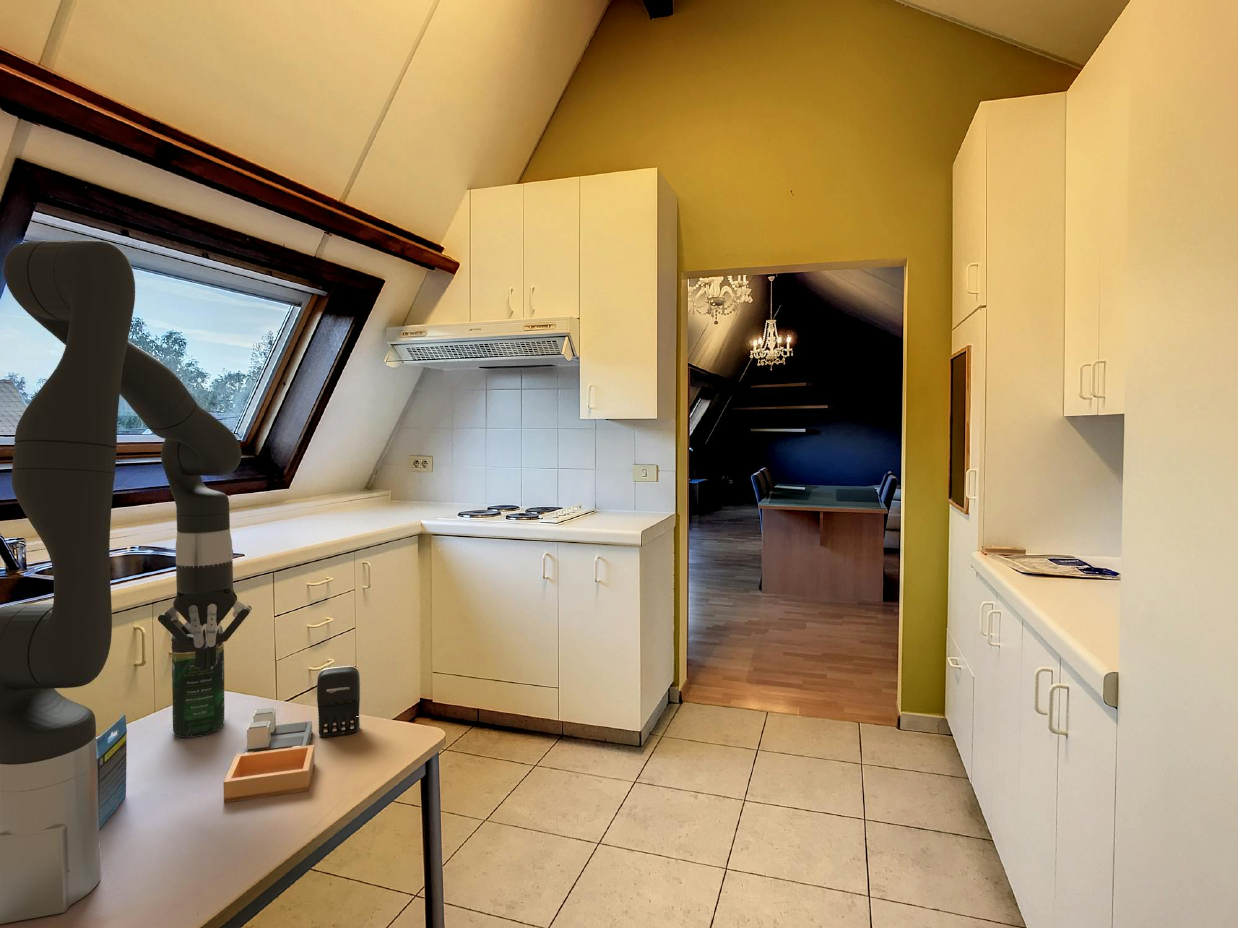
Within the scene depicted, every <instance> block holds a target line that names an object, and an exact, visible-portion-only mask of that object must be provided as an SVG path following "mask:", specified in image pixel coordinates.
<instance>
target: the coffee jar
mask: <svg viewBox="0 0 1238 928" xmlns="http://www.w3.org/2000/svg"><path fill="white" fill-rule="evenodd" d="M183 624H184V625H185V626H186V627H187V628H188V629H189V630H190V631H191V632H192V629H191V624H190V623H188V622H187V621H186V622H185V623H183ZM221 632H223V626H222V625H220V632H219V633H221ZM206 634H207V624H206ZM170 641H171V681H172V682H171V684H172V685H171V686H172V687H171V689H172V693H171V694H172V731H173V734H174V735H175V737H177V738H179V737H180V738H181V737H183V738H184V737H189V738H190V737H191V738H196V737H202V736H205V735H207V734H209V733H211V732H214V731H219V730H220V729H221V728H222V727H223V724H224V722H225V709H226V708H225V707H226V706H225V647H224V646H225V645H224V643H225V642H221V643H219V644H218V659H219V660H218V662H217V664H216V665H215V666H214V667H213V669H212V670H206V671H201V670H200V667H198V668H197V666H196V658H195V647H194V646H192V645H188V644H187V645H183V644H182V643H181V642H179V641H178V640H177V639H176V638H175V637H174V636H173V635H172V634H171V639H170ZM206 644H207V641H206Z"/></svg>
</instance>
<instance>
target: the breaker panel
mask: <svg viewBox="0 0 1238 928" xmlns="http://www.w3.org/2000/svg"><path fill="white" fill-rule="evenodd" d="M312 733H313V721H312V720H309V721H299V722H298V721H297V722H291V723H282V724H281V723H280V724H276V728H275V730H274V732H272V733H271V741H270V744H269V746H268V747H263V748H255V749H247V745H245V748H244V751H243V753H242V754H245V753H253V752H261V751H269V750H277V749H285V748H293V747H301V746H308V745H310V742H311V739H312V735H311V734H312Z"/></svg>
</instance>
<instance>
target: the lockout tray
mask: <svg viewBox="0 0 1238 928" xmlns="http://www.w3.org/2000/svg"><path fill="white" fill-rule="evenodd" d="M314 767H315V744H309V745H308V746H301V747H293V748H285V749H277V750H269V751H261V752H253V753H245V754H243V753H238V754H235V757H234V759H233V761H232V762H231V765H230V767H229V770H228V772H227V773H226V775H225V778H224V781H223V783H222V784H223V804H224V803H232V802H238V801H245V800H254V799H259V798H265V797H267V798H268V797H272V796H278V795H287V794H293V793H301V792H306V791H307V792H308V791H309V790H310V785H311V781H312V777H313V772H314Z"/></svg>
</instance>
